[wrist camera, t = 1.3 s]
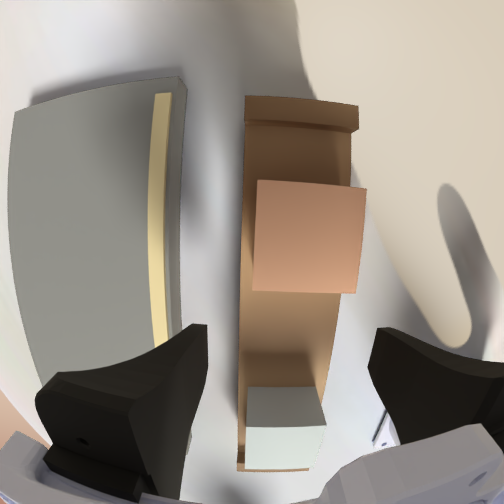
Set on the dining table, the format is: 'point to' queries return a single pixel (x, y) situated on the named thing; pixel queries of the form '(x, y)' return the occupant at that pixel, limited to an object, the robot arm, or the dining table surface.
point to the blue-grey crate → (283, 427)
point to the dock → (97, 223)
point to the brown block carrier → (251, 301)
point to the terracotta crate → (307, 237)
